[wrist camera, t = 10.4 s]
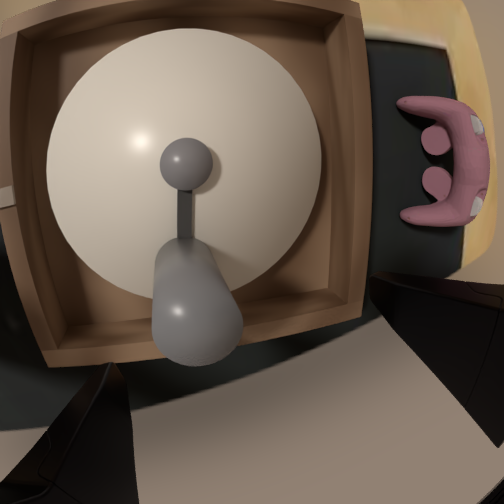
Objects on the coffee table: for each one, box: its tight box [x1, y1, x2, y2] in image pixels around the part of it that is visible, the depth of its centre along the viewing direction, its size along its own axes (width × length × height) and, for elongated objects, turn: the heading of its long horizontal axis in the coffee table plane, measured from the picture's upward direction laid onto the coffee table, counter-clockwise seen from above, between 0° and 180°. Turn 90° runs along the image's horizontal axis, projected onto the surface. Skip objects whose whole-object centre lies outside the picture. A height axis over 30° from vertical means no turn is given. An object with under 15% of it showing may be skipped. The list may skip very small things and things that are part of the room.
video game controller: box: [396, 96, 490, 227], centre depth 18 cm, size 10×5×7 cm, turn 5°
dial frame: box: [0, 0, 373, 367], centre depth 14 cm, size 19×19×4 cm
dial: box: [46, 29, 321, 366], centre depth 11 cm, size 14×14×7 cm
